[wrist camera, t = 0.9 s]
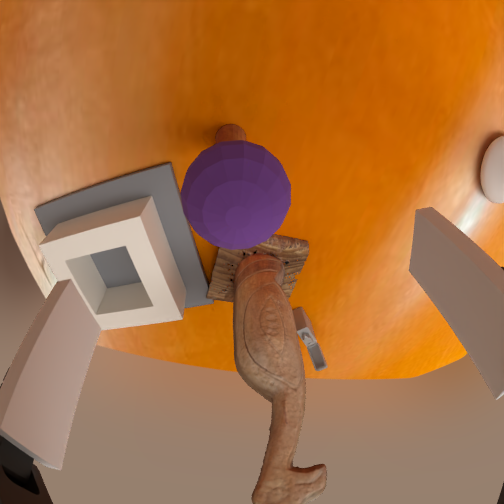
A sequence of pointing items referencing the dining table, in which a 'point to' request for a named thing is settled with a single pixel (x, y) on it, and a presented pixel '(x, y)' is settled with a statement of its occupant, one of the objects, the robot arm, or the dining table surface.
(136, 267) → the socket
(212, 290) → the bird sculpture
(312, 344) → the lighter
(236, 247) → the kendama
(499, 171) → the flower in vase
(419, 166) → the dining table surface
